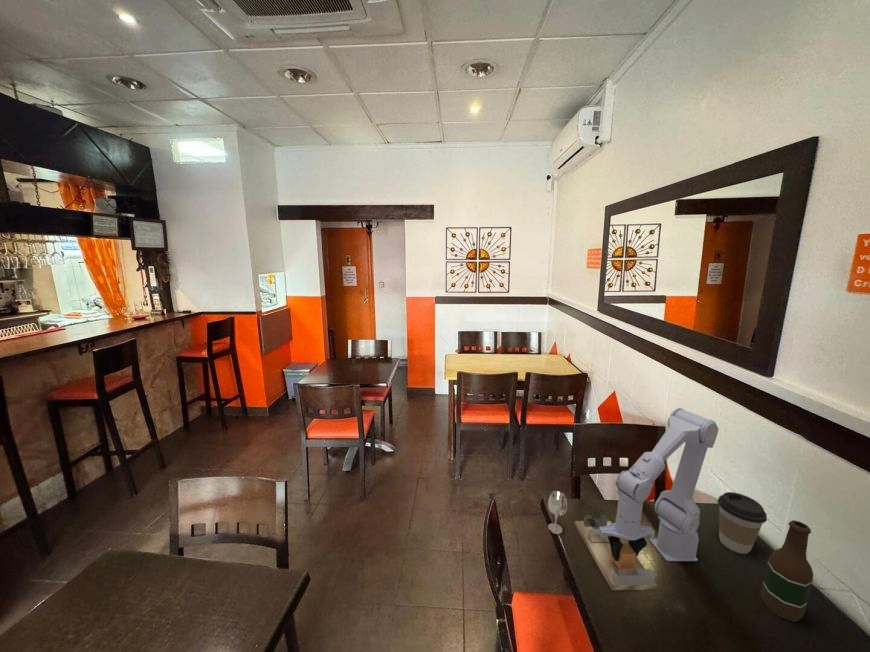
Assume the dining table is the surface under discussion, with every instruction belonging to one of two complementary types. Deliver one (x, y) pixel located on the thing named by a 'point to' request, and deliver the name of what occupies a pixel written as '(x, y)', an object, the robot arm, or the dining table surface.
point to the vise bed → (608, 559)
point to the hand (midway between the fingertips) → (622, 558)
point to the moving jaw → (596, 527)
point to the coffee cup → (739, 521)
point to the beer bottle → (789, 575)
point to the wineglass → (557, 509)
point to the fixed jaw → (633, 577)
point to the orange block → (626, 557)
